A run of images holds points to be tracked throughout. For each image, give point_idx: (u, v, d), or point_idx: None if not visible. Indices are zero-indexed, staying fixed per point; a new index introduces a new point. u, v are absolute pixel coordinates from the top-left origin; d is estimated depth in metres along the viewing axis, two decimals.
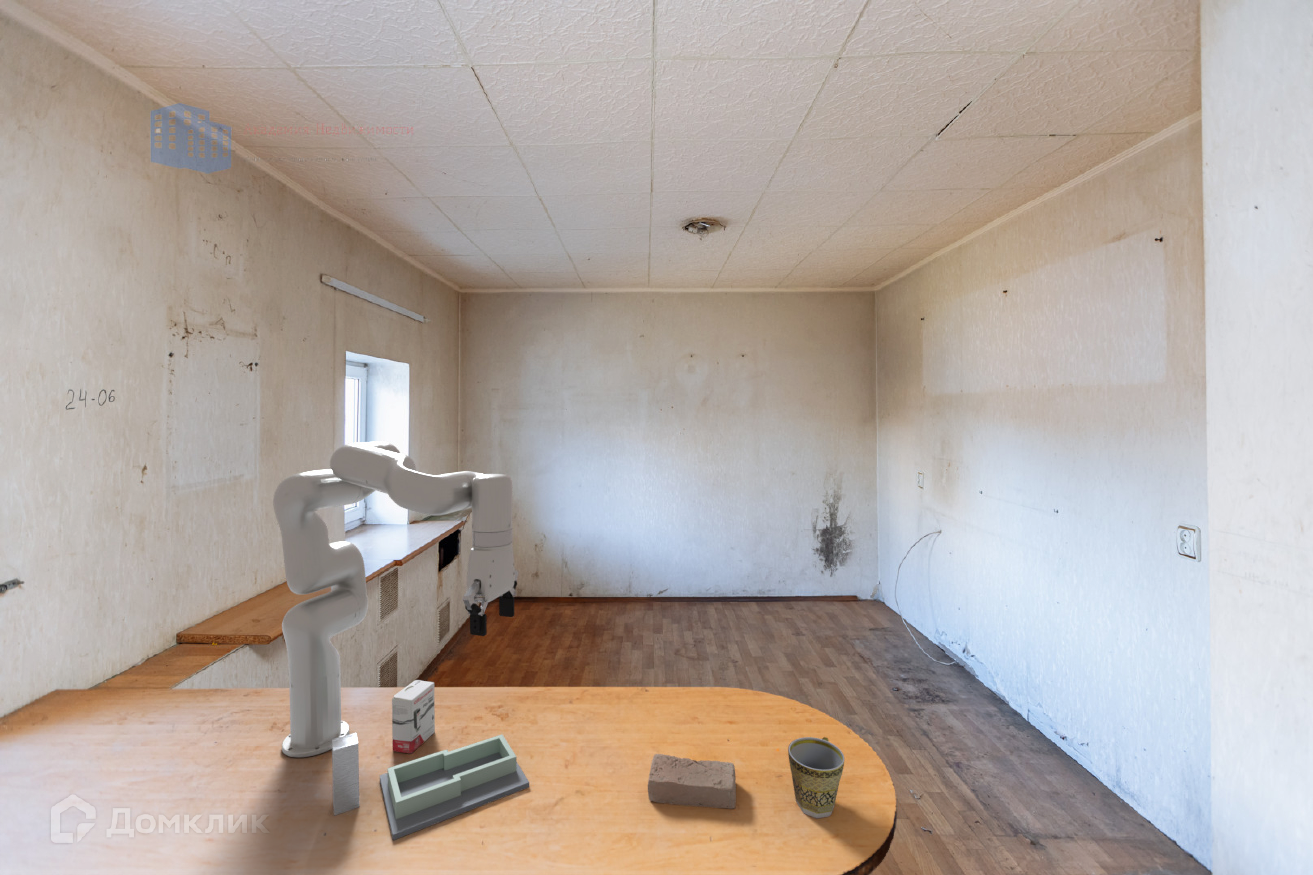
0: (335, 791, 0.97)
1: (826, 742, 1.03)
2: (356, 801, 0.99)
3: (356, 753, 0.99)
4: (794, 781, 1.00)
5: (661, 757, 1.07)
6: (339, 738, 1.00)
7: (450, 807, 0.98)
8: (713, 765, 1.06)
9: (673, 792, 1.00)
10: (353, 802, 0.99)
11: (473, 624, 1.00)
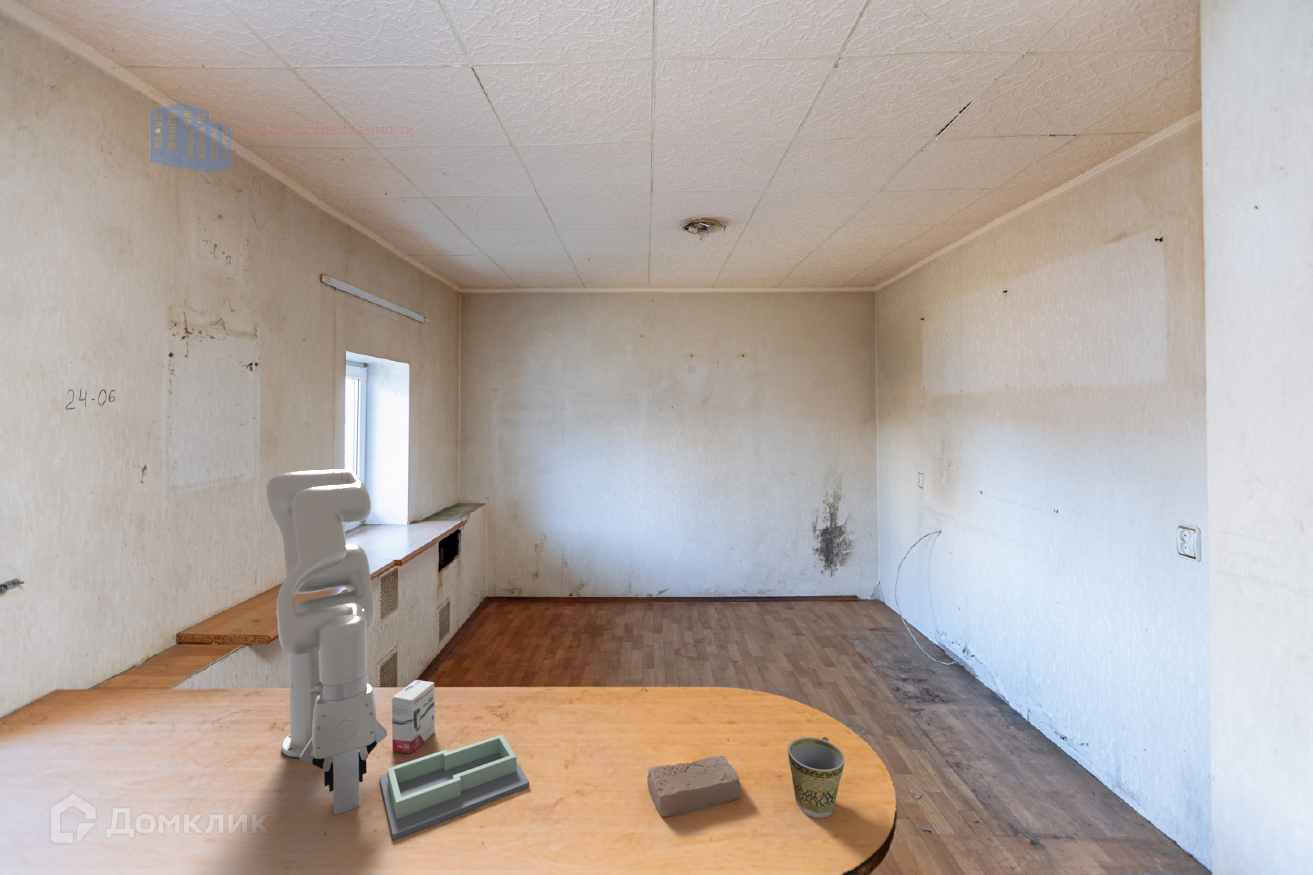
0: (335, 791, 0.97)
1: (826, 742, 1.03)
2: (356, 801, 0.99)
3: (356, 753, 0.99)
4: (794, 781, 1.00)
5: (657, 769, 1.04)
6: None
7: (450, 807, 0.98)
8: (707, 762, 1.07)
9: (685, 800, 0.98)
10: (353, 802, 0.99)
11: None
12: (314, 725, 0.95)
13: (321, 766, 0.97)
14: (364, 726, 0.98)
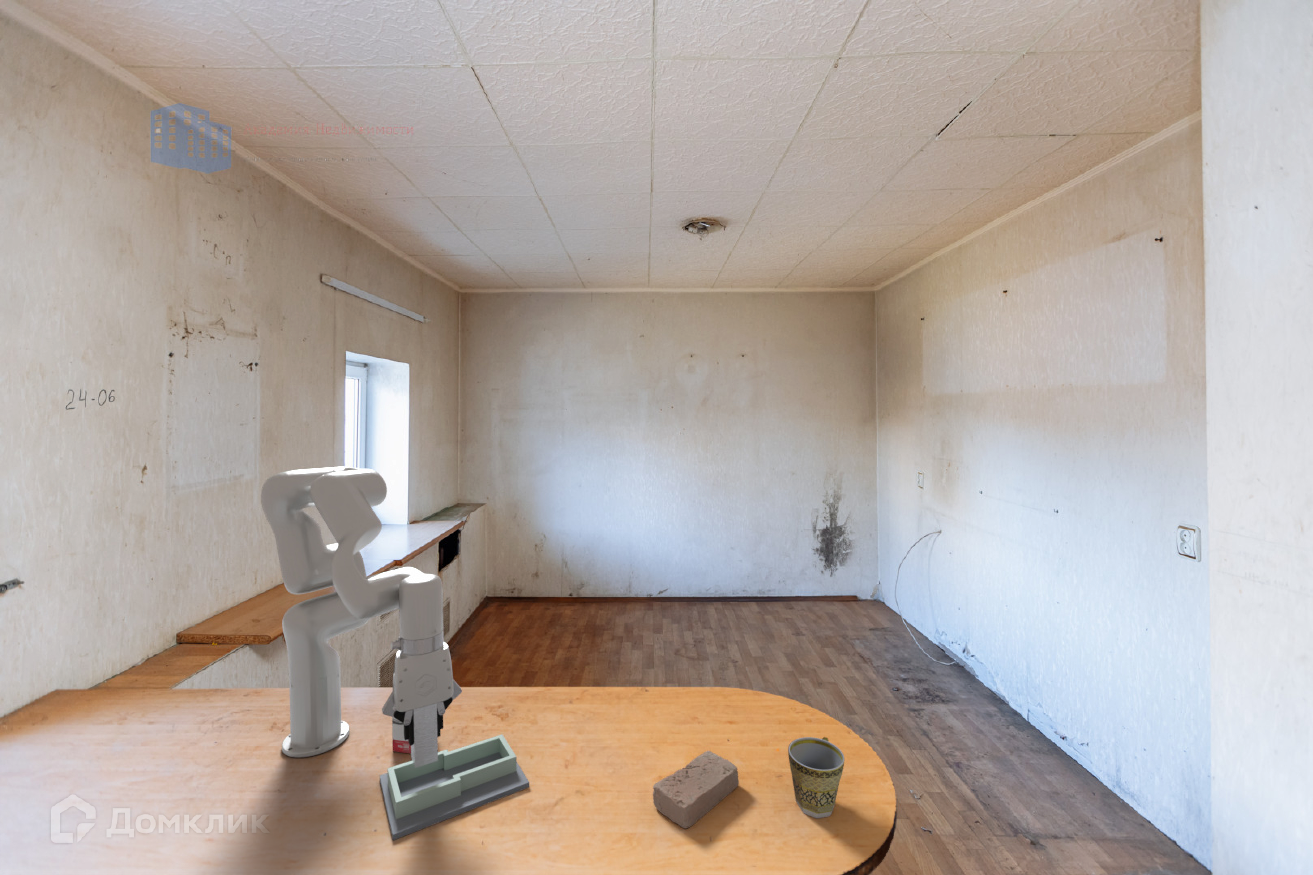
0: (416, 744, 0.99)
1: (826, 742, 1.03)
2: (435, 755, 1.01)
3: (435, 708, 1.01)
4: (794, 781, 1.00)
5: (663, 783, 1.00)
6: None
7: (450, 807, 0.98)
8: (700, 761, 1.07)
9: (703, 804, 0.97)
10: (432, 756, 1.01)
11: (442, 720, 1.03)
12: (396, 679, 0.97)
13: (402, 720, 0.99)
14: (442, 681, 1.01)
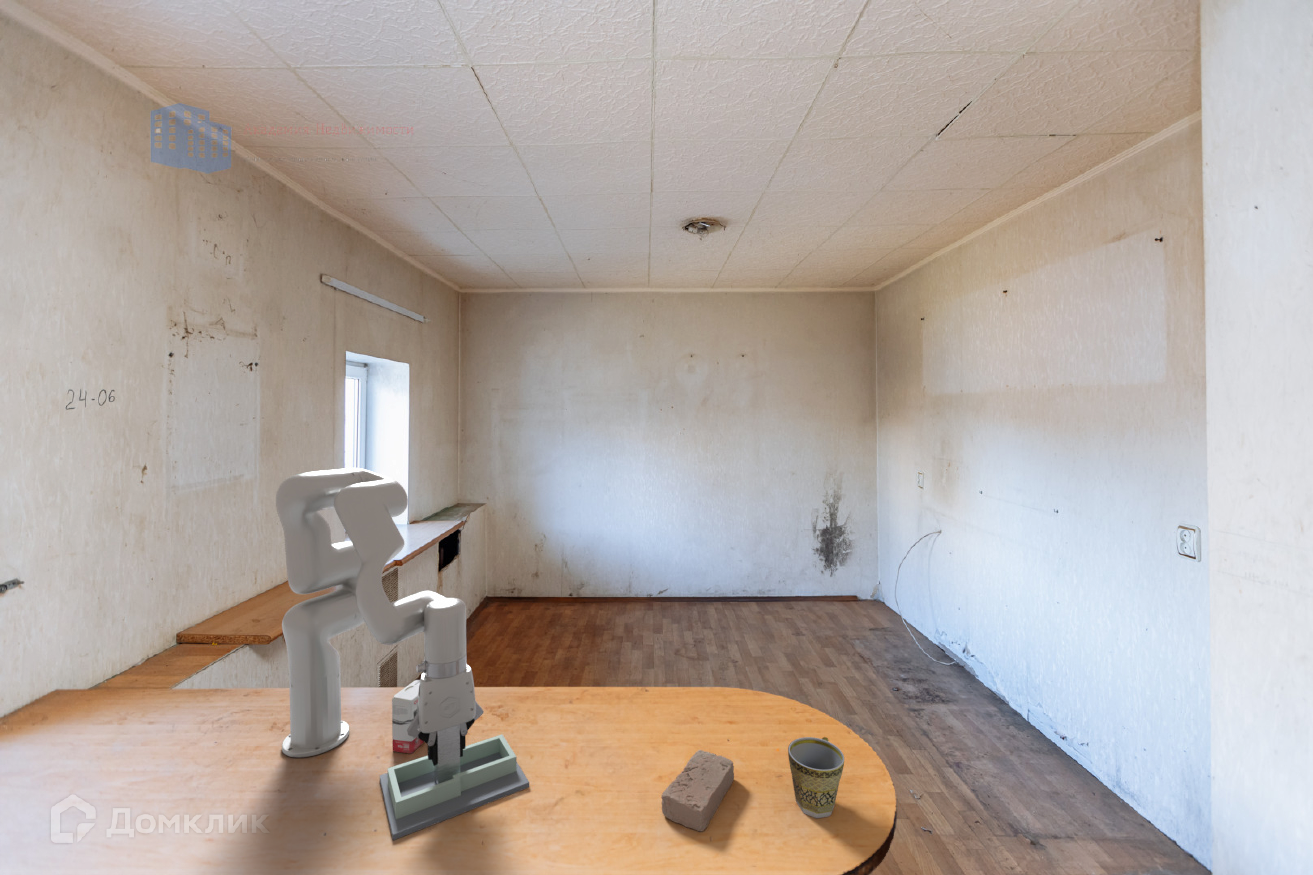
0: (439, 765, 1.02)
1: (826, 742, 1.03)
2: None
3: (457, 729, 1.04)
4: (794, 781, 1.00)
5: (671, 791, 0.98)
6: None
7: (450, 807, 0.98)
8: (696, 762, 1.07)
9: (713, 803, 0.97)
10: None
11: None
12: (422, 701, 1.00)
13: (426, 741, 1.02)
14: (465, 703, 1.03)
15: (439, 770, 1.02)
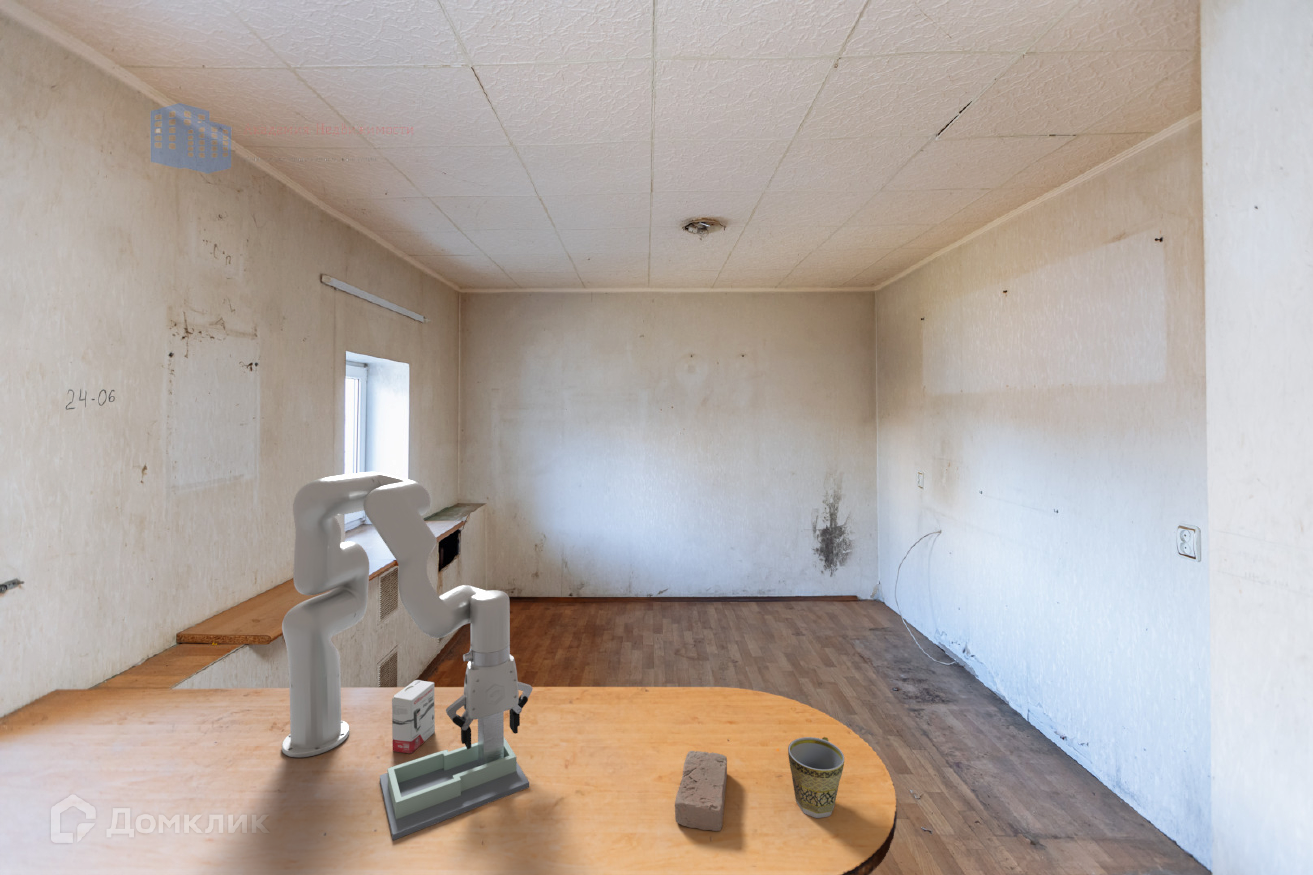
0: (485, 752, 1.07)
1: (826, 742, 1.03)
2: None
3: (501, 718, 1.08)
4: (794, 781, 1.00)
5: (682, 797, 0.96)
6: None
7: (450, 807, 0.98)
8: (692, 763, 1.06)
9: (723, 801, 0.98)
10: None
11: None
12: (469, 689, 1.04)
13: (461, 723, 1.05)
14: (509, 691, 1.08)
15: (485, 757, 1.07)
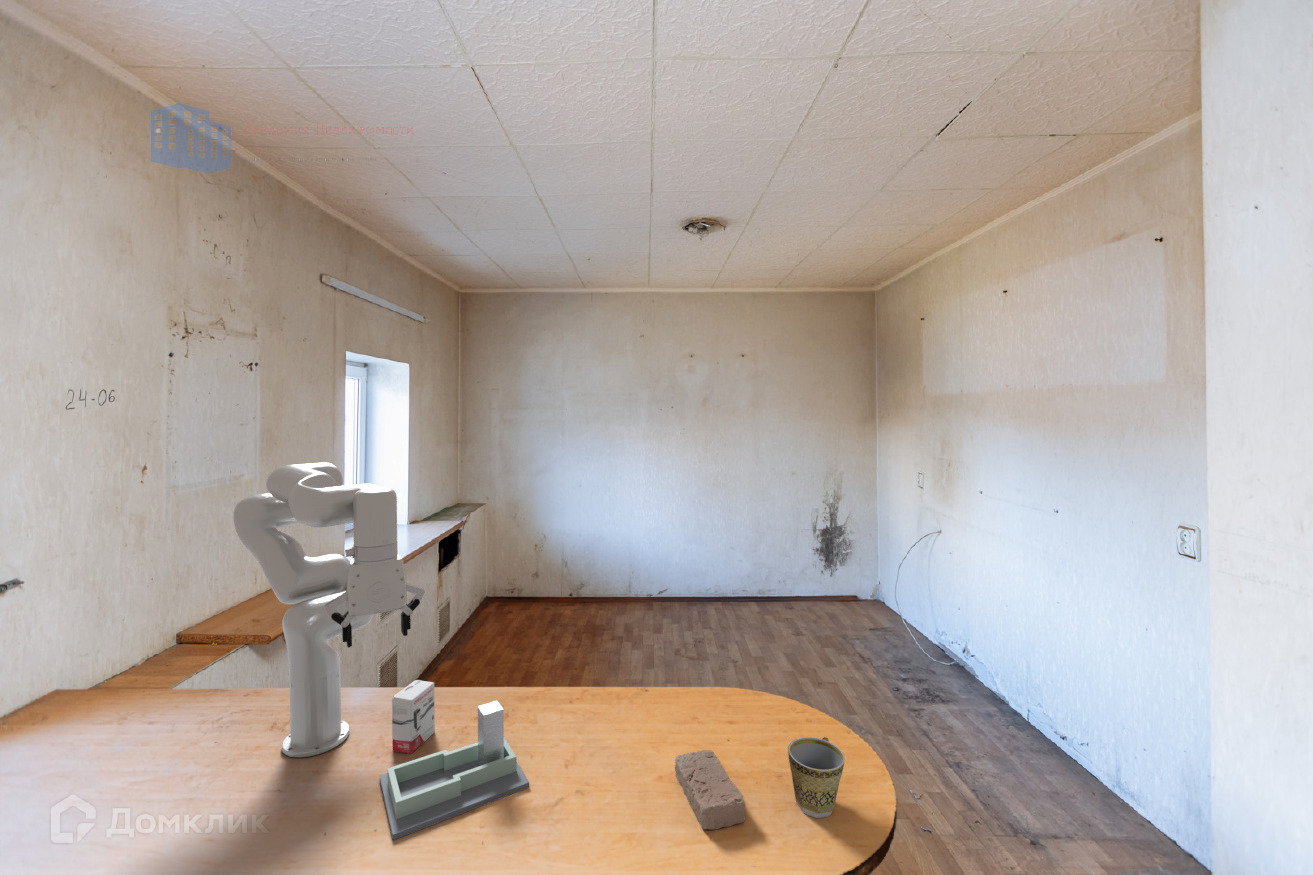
0: (485, 752, 1.07)
1: (826, 742, 1.03)
2: None
3: (501, 718, 1.08)
4: (794, 781, 1.00)
5: (705, 801, 0.95)
6: (484, 705, 1.10)
7: (450, 807, 0.98)
8: (688, 767, 1.05)
9: None
10: None
11: None
12: (349, 584, 1.00)
13: (341, 620, 1.01)
14: (395, 590, 1.04)
15: (485, 757, 1.07)
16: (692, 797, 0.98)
